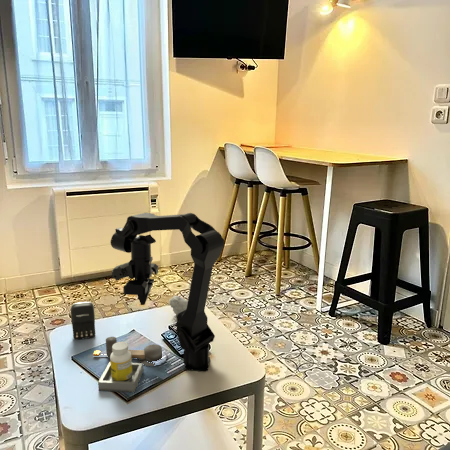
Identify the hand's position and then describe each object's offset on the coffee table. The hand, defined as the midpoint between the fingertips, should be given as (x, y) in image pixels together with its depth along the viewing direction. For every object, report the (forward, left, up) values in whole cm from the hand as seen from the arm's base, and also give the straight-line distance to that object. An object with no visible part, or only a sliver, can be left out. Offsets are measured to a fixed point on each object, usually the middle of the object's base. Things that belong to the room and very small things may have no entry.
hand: (142, 304), depth 130 cm
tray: (+1, +21, -12) cm, 24 cm away
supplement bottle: (+1, +21, -12) cm, 24 cm away
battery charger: (+19, 0, -12) cm, 22 cm away
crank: (0, +10, -11) cm, 15 cm away
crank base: (+2, +10, -12) cm, 16 cm away
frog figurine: (-8, -18, -12) cm, 23 cm away
